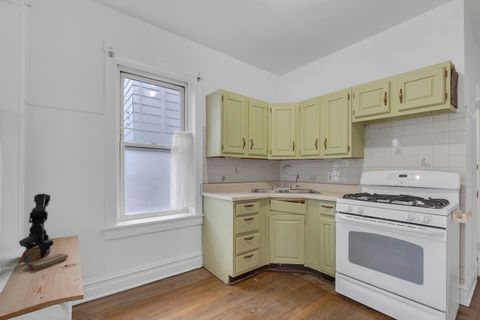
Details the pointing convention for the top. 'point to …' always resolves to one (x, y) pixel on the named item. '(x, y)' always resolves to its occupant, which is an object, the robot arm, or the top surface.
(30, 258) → the tin
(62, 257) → the stand
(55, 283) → the top surface
